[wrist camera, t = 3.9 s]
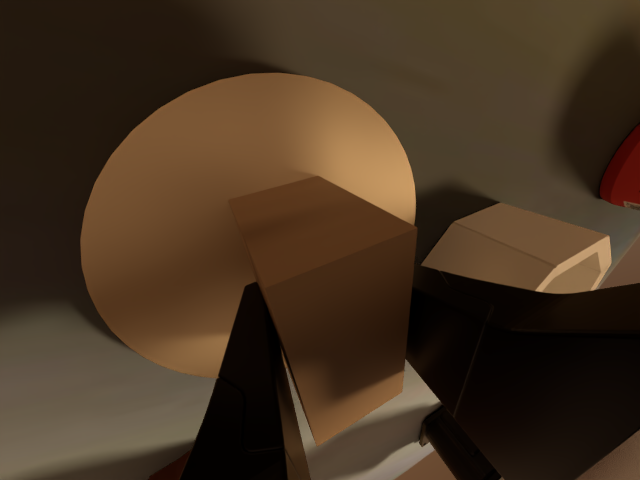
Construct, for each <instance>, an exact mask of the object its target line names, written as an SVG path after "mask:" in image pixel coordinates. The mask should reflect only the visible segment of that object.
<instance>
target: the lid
mask: <svg viewBox="0 0 640 480" xmlns="http://www.w3.org/2000/svg"><path fill="white" fill-rule="evenodd" d="M415 213H416V196H415V185H414V180H413V175H412V171H411V167H410V164H409V161H408V159H407V156H406V153H405V151H404V149H403V147H402V145H401V143H400V142H399V140H398V138H397V136H396V135H395V133H394V132H393V131H392V129H391V128H390V127H389V125H388V124H387V122H386V121H385V120H384V119H383V118H382V117H381V116H380V115H379V114H378V113H377V112H376V111H375V110H374V109H373V108H372V107H371V106H369V105H368V104H366V103H365V102H364V101H362V100H361V99H359V98H358V97H357V96H355V95H354V94H352V93H350V92H348V91H346V90H344V89H342V88H340V87H338V86H336V85H334V84H332V83H328V82H325V81H321V80H318V79H315V78H311V77H308V76H302V75H294V74H286V73H258V74H246V75H241V76H236V77H231V78H226V79H221V80H218V81H215V82H212V83H210V84H207V85H204V86H202V87H199V88H196V89H194V90H191V91H188V92H186V93H185V94H183V95H181V96H180V97H178V98H176V99H174V100H173V101H171V102H169V103H167V104H166V105H164V106H162V107H160V108H159V109H158V110H156V111H155V112H154V113H153V114H151V115H150V116H149V117H148V118H147V119H145V120H144V121H143V122H142V123H141V124H139V125H138V126H137V127H136V128H134V129H133V130H132V131H131V133H130V134H129V135H128V136H127V137H126V138H125V140H124V141H123V142H122V143H121V144H120V145H119V146H118V148H117V149H116V150H115V151H114V152H113V153H112V155H111V156H110V158H109V160H108V161H107V163H106V165H105V166H104V168H103V170H102V171H101V173H100V175H99V177H98V178H97V180H96V182H95V184H94V187H93V189H92V192H91V195H90V198H89V201H88V203H87V206H86V209H85V212H84V219H83V225H82V232H81V238H80V243H81V264H82V270H83V274H84V278H85V282H86V286H87V290H88V292H89V294H90V297H91V299H92V301H93V303H94V305H95V307H96V309H97V311H98V313H99V314H100V316H101V317H102V318H103V320H104V321H105V323H106V324H107V325H108V327H109V328H110V329H111V331H112V332H113V333H114V334H115V335H116V336H117V337H119V338H120V339H121V340H122V341H123V342H124V343H125V344H126V345H127V346H128V347H130V348H131V349H133V350H134V351H135V352H137V353H138V354H140V355H141V356H143V357H144V358H146V359H148V360H150V361H152V362H154V363H156V364H158V365H160V366H163V367H166V368H168V369H171V370H174V371H177V372H180V373H185V374H190V375H195V376H200V377H210V378H218V373H219V370H220V367H221V363H222V360H223V357H224V353H225V350H226V347H227V343H228V340H229V337H230V333H231V330H232V327H233V323H234V320H235V317H236V313H237V310H238V307H239V304H240V300H241V297H242V294H243V290H244V287H245V286H246V285H248V284H250V283H253V282H257V283H258V285H259V288H260V290H261V293H262V295H263V298H264V300H265V303H266V305H267V308H268V311H269V314H270V317H271V320H272V323H273V326H274V329H275V332H276V335H277V338H278V341H279V344H280V347H281V351H282V355H283V360H284V364H285V368H288V371H289V374H290V376H291V379H292V382H293V384H294V387H295V390H296V392H297V395H298V397H299V400H300V403H301V405H302V408H303V411H304V413H305V416H306V419H307V421H308V424H309V427H310V429H311V432H312V435H313V437H314V440H315V443H316V445H317V446H319V445H320V444H322V443H324V442H325V441H327V440H328V439H330V438H331V437H333V436H334V435H336V434H338V433H339V432H341V431H342V430H344V429H345V428H347V427H348V426H350V425H352V424H353V423H355V422H356V421H358V420H359V419H361V418H362V417H364V416H366V415H367V414H369V413H370V412H372V411H373V410H375V409H376V408H378V407H380V406H381V405H383V404H384V403H386V402H387V401H389V400H390V399H392V398H394V397H395V396H397V395H398V394H400V393H401V392H402V387H403V377H404V366H405V356H406V345H407V335H408V324H409V314H410V304H411V293H412V283H413V272H414V262H415V251H416V241H417V230H418V228H417V227H415V226H414V223H415Z"/></svg>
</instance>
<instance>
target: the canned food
mask: <svg viewBox="0 0 640 480" xmlns="http://www.w3.org/2000/svg"><path fill="white" fill-rule="evenodd" d="M600 196H601V198H602V199H603V200H605V201H607V202H609V203H612V204H614V205H618V206H623V207H627V208H631V209H636V210H640V124H638V125H637V126H636V127H635V128H634V130H633V131H632V132H631V133H630V134H629V135H628V136H627V138H626V139H625V140H624V141H623V143H622V144H621V146H620V147H619V148H618V150H617V151H616V153H615V155H614V156H613V158H612V159H611V161H610V163H609V165H608V167H607V169H606V171H605V173H604V176H603V178H602V181H601V185H600Z"/></svg>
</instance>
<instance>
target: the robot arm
mask: <svg viewBox="0 0 640 480" xmlns="http://www.w3.org/2000/svg"><path fill="white" fill-rule="evenodd" d="M405 359H406V360H407V361H408V362H409V364H410V365H411V366H412V367H413V368H414V370H415V371H416V372H417V373H418V375H419V376H420V377H421V378H422V379H423V381H424V382H425V383H426V384H427V386H428V387H429V388H430V389H431V390H432V392H433V393H434V394H435V395H436V397H437V398H438V399H439V400H440V401H441V403H442V404H443V405H444V407H443V408H441V409H440V410H439V411H437V412H436V413H434V414H433V415H432V416H430V417H429V418H427V419H426V420H425V421H424V423H423V427H422V432H421V437H420V441H419V444H420V445H421V447H423V446H425V445H426V444H427V443H429V442H430V443H431V445H432V446H433V448H434V449H435V450H436V452H437V453H438V454H439V456H440V457H441V459H442V460H443V461H444V463H445V464H446V466H447V467H448V468H449V470H450V471H451V472H452V474H453V475H454V477H455V478H456V479H457V480H503V479H504V480H640V283H636V284H630V285H624V286H617V287H610V288H604V289H597V290H591V291H585V292H578V293H566V294H555V293H545V292H539V291H533V290H528V289H523V288H518V287H513V286H508V285H503V284H498V283H493V282H488V281H483V280H478V279H473V278H469V277H465V276H461V275H456V274H452V273H449V272H445V271H439V270H437V269H433V268H429V267H425V266H422V265H418V264H414V272H413V283H412V293H411V304H410V314H409V324H408V335H407V345H406V356H405ZM179 480H311V478H310V474H309V469H308V465H307V461H306V456H305V452H304V447H303V443H302V439H301V434H300V430H299V426H298V421H297V417H296V412H295V408H294V404H293V399H292V395H291V390H290V386H289V382H288V377H287V373H286V369H285V364H284V360H283V355H282V351H281V347H280V344H279V341H278V338H277V335H276V332H275V329H274V326H273V323H272V320H271V317H270V314H269V311H268V308H267V305H266V303H265V300H264V298H263V295H262V293H261V290H260V288H259V285H258V283H257V282H253V283H250V284H248V285H246V286H245V287H244V290H243V294H242V297H241V300H240V304H239V307H238V310H237V313H236V317H235V320H234V323H233V327H232V330H231V333H230V337H229V340H228V343H227V347H226V350H225V353H224V357H223V360H222V363H221V367H220V370H219V373H218V378H217V379H216V383H215V386H214V389H213V393H212V396H211V399H210V402H209V405H208V408H207V411H206V414H205V417H204V419H203V422H202V424H201V427H200V429H199V432H198V435H197V437H196V440H195V442H194V445H193V447H192V450H191V452H190V454H189V457H188V459H187V462H186V464H185V466H184V469H183V471H182V474H181V476H180V479H179Z"/></svg>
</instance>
